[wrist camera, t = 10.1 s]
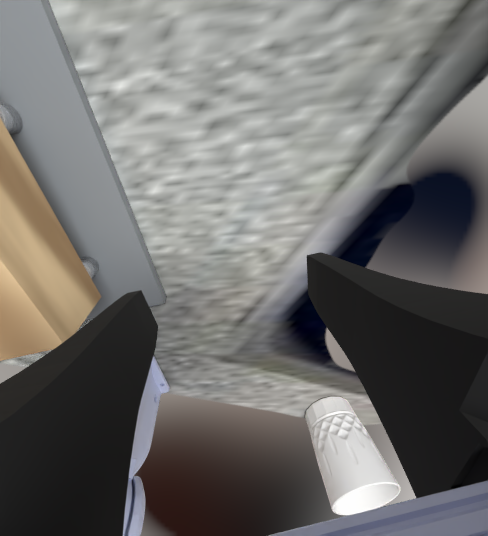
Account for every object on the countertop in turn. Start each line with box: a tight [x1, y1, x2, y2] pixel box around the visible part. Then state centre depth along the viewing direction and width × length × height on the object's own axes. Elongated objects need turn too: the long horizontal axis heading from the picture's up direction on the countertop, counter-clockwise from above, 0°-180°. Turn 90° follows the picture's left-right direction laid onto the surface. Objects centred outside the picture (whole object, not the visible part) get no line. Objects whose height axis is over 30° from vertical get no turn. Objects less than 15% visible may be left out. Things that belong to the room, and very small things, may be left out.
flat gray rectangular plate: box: [0, 0, 166, 320], centre depth 16 cm, size 20×11×3 cm, turn 9°
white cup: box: [305, 396, 401, 515], centre depth 30 cm, size 8×8×10 cm
